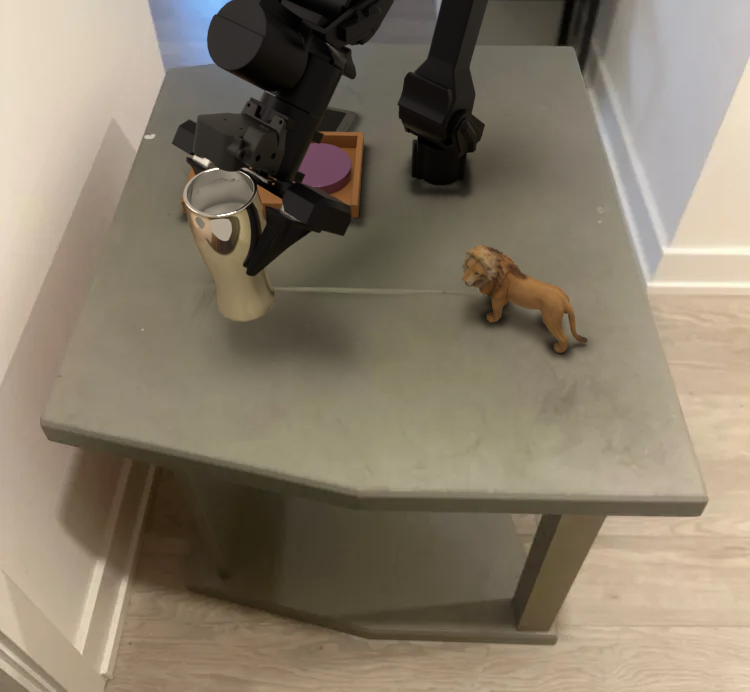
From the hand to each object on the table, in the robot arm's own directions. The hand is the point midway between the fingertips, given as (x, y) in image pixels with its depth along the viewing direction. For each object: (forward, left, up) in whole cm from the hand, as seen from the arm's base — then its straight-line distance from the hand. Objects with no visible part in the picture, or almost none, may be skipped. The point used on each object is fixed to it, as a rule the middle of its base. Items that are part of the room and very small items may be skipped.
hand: (224, 258), depth 71 cm
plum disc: (-6, -27, -11) cm, 30 cm away
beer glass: (-1, -1, -8) cm, 8 cm away
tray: (-1, -26, -12) cm, 29 cm away
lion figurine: (-30, -3, -12) cm, 32 cm away
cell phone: (-3, -39, -12) cm, 41 cm away
